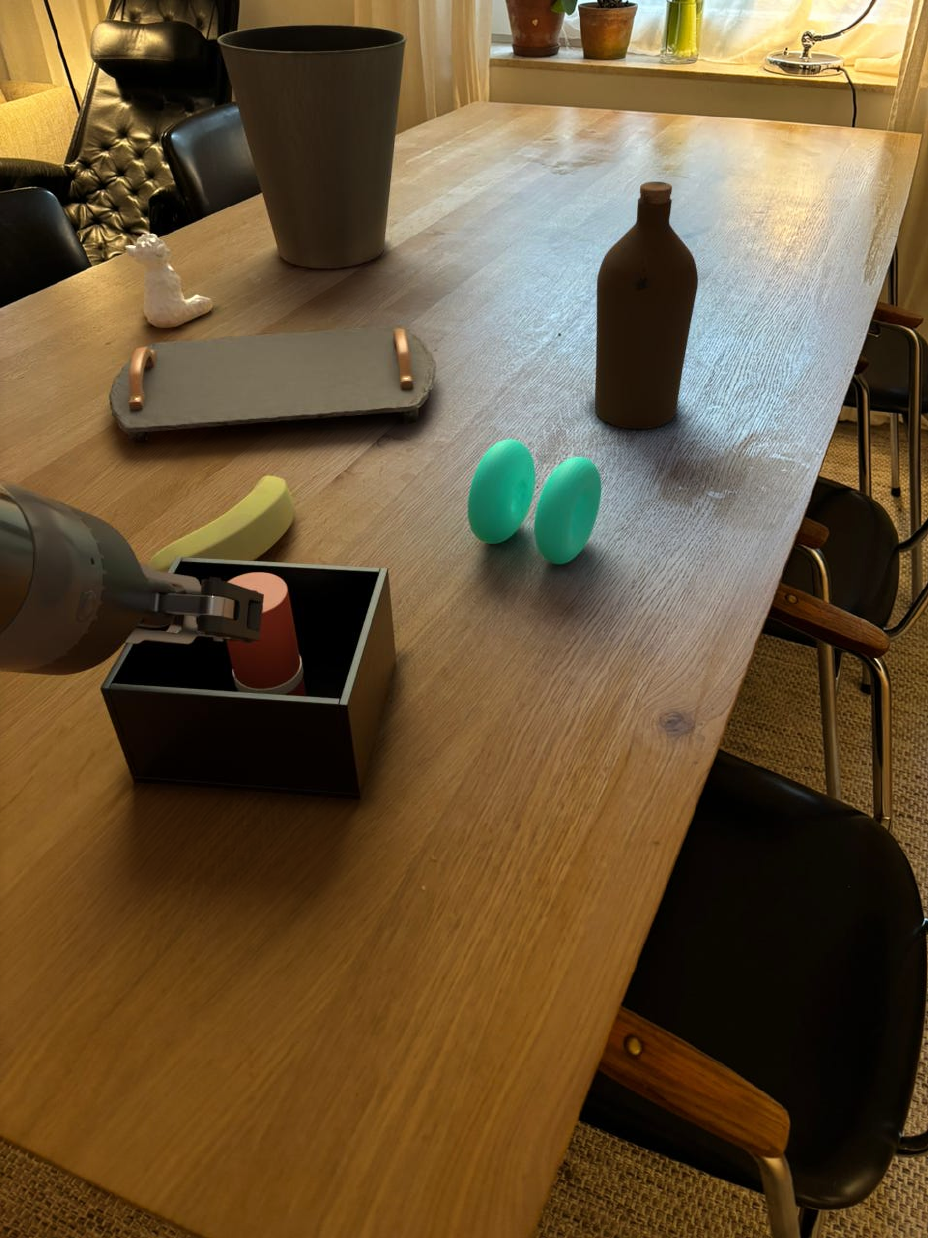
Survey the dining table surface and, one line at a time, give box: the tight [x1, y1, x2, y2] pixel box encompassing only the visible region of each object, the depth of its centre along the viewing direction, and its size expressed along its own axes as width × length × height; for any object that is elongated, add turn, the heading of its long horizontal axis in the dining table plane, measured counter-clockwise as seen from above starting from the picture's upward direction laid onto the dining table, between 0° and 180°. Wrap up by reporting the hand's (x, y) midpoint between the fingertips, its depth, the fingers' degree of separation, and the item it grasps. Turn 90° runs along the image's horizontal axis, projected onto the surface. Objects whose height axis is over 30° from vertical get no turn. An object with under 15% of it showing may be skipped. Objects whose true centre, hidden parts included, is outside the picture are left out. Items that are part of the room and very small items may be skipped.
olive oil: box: [594, 181, 699, 430], centre depth 108 cm, size 11×11×25 cm
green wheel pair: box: [467, 438, 602, 565], centre depth 92 cm, size 10×10×10 cm
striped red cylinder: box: [226, 572, 307, 697], centre depth 74 cm, size 5×5×12 cm
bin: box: [99, 557, 397, 800], centre depth 75 cm, size 17×15×10 cm
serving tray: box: [108, 325, 437, 445], centre depth 119 cm, size 39×23×6 cm, turn 97°
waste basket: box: [216, 23, 408, 269], centre depth 149 cm, size 27×20×30 cm
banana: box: [146, 475, 296, 573], centre depth 95 cm, size 14×6×20 cm
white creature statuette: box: [124, 233, 214, 329], centre depth 135 cm, size 10×9×12 cm
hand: (167, 617), depth 57 cm, fingers open, 8 cm apart
